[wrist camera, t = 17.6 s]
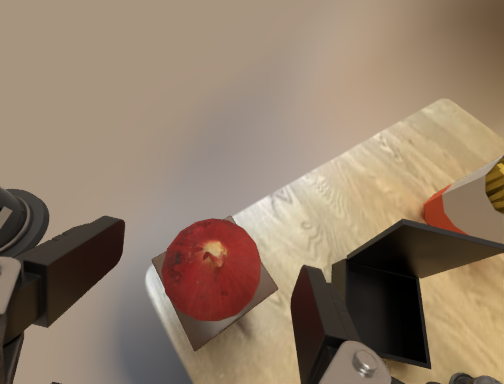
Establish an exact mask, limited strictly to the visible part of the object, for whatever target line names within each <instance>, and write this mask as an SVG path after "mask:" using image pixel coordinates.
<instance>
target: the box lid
mask: <svg viewBox="0 0 504 384" xmlns="http://www.w3.org/2000/svg"><path fill="white" fill-rule="evenodd" d="M501 253H504V244H501V243H497V242H493V241H489V240H485V239H481V238H478V237H474V236H470V235H466V234H462V233H458V232H454V231H450V230H446V229H442V228H438V227H434V226H430V225H426V224H422V223H418V222H414V221H410V220H406V219H401V220H400V221H398V222H397V223H395V224H394V225H392V226H391V227H389V228H388V229H386V230H385V231H383V232H382V233H380V234H379V235H377V236H376V237H374V238H373V239H371V240H370V241H368V242H366V243H365V244H363V245H362V246H360V247H359V248H357V249H356V250H354V251H353V252H351V253H350V254H348V255H347V260H350V261H354V262H358V263H362V264H366V265H370V266H374V267H378V268H382V269H386V270H390V271H394V272H398V273H402V274H406V275H410V276H414V277H418V278H424V277H428V276H431V275H434V274H437V273H440V272H444V271H447V270H450V269H453V268H456V267H459V266H463V265H466V264H469V263H472V262H475V261H479V260H482V259H485V258H488V257H491V256H494V255H498V254H501Z"/></svg>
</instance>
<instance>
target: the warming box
mask: <svg viewBox="0 0 504 384" xmlns="http://www.w3.org/2000/svg"><path fill="white" fill-rule="evenodd" d="M331 284H332V285H333V286H334V287H335V288H336V289H337V291H338V292H339V293H340V295H341V297H342V299H343V301H344V305H345V306H346V308H347V310H348V314H349V315H350V317H351V319H352V321H353V324H354V326H355V328H356V330H357V333H358V335H359V337H360V339H361V341H362V344H364V345H365V346H367V347H369V348H370V349H371V350H373V351H374V352H375V353H376V354H377V355H378V356H379V357H383V358H387V359H391V360H395V361H399V362H403V363H408V364H412V365H416V366H420V367H424V368H428V369H431V362H430V355H429V348H428V340H427V333H426V326H425V319H424V312H423V305H422V297H421V290H420V283H419V278H418V277H414V276H410V275H406V274H402V273H398V272H394V271H390V270H386V269H382V268H378V267H374V266H370V265H366V264H362V263H358V262H354V261H350V260H347V259H346V258H345V259H343V260H341V261H339V262H337V263H335V264H332V283H331Z"/></svg>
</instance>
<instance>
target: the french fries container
mask: <svg viewBox="0 0 504 384" xmlns="http://www.w3.org/2000/svg"><path fill="white" fill-rule="evenodd" d="M424 212H425V221H426V222H427V223H428V224H429V225H430V226H434V227H438V228H442V229H446V230H450V231H454V232H458V233H462V234H466V235H470V236H474V237H478V238H481V239H485V240H489V241H493V242H497V243H501V244H504V155H502V156H500V157H498V158H497V159H495V160H493V161H491V162H490V163H488V164H486V165H484V166H483V167H481V168H479V169H477V170H476V171H474V172H472V173H470V174H469V175H467V176H465V177H463V178H461V179H460V180H458V181H456V182H454V183H453V184H451V185H449V186H447V187H446V188H444V189H442V190H440V191H439V192H437V193H435V194H434V195H433V196H432V197H431V198H430V199H429V200H428V201H427V202H426V203H425V204H424Z"/></svg>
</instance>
